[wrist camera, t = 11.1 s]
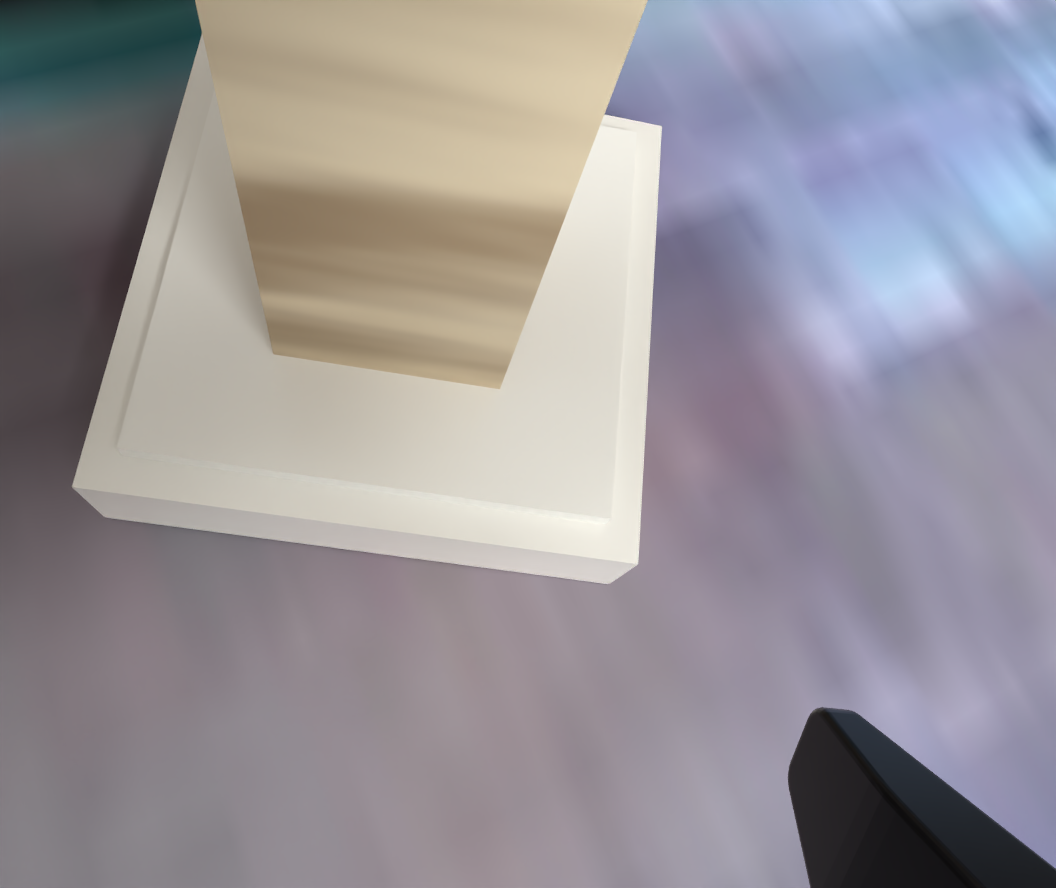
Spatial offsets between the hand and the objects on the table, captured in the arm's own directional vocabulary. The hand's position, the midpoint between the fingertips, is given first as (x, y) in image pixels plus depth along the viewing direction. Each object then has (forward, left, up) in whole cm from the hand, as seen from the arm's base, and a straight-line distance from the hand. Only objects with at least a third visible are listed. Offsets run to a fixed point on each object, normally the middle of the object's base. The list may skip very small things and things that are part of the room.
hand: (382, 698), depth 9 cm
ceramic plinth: (+3, +9, -12) cm, 16 cm away
